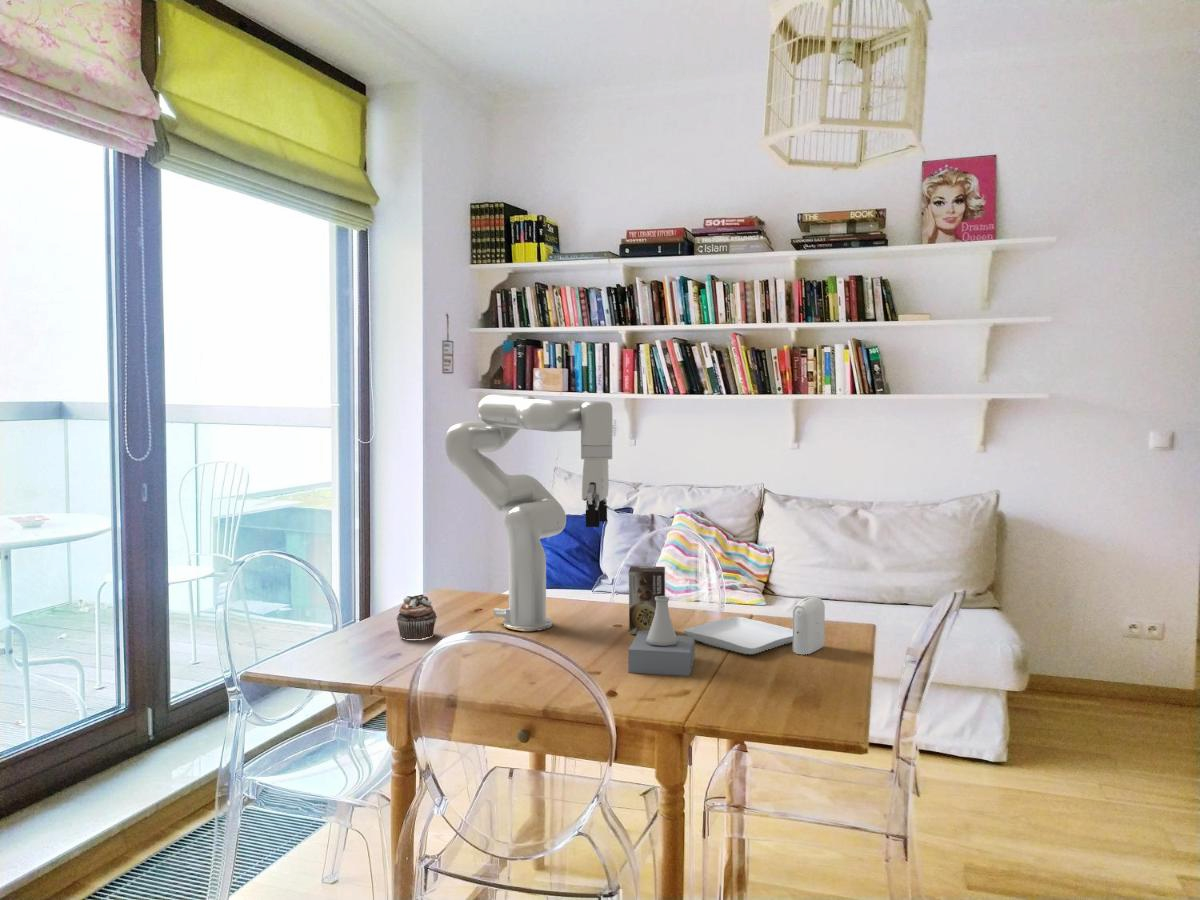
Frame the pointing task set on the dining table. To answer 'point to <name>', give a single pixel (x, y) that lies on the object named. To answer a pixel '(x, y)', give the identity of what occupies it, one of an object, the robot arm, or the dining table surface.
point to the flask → (662, 625)
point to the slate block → (662, 656)
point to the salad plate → (741, 635)
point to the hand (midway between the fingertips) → (596, 524)
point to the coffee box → (644, 596)
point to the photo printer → (808, 625)
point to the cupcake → (416, 618)
